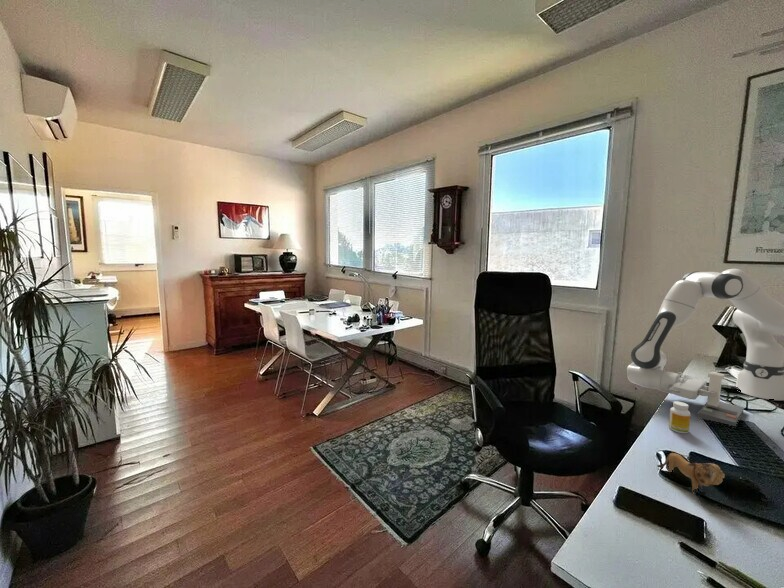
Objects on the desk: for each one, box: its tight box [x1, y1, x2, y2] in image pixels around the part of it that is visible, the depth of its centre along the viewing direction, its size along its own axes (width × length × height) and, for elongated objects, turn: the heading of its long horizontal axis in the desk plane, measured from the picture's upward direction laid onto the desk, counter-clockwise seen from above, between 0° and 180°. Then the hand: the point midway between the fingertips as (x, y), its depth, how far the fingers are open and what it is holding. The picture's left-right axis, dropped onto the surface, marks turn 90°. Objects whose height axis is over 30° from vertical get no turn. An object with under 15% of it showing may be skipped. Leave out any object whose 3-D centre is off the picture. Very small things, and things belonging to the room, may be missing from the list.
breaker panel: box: [697, 401, 745, 427], centre depth 128 cm, size 20×10×2 cm, turn 127°
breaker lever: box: [706, 371, 725, 409], centre depth 129 cm, size 4×4×13 cm
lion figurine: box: [656, 452, 726, 495], centre depth 88 cm, size 15×5×9 cm, turn 18°
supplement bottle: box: [668, 400, 691, 434], centre depth 116 cm, size 5×5×10 cm
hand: (717, 393), depth 129 cm, fingers closed on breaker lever, 3 cm apart
